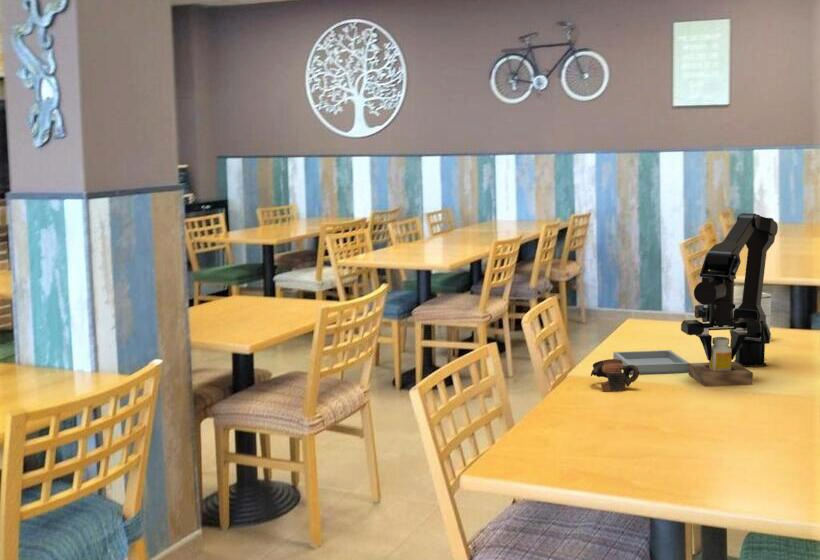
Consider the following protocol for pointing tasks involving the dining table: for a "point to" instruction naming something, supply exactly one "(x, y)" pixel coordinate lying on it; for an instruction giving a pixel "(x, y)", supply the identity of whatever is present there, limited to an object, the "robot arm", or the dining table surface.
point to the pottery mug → (614, 374)
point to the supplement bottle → (720, 355)
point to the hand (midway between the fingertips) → (720, 359)
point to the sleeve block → (720, 375)
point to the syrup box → (766, 307)
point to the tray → (653, 361)
